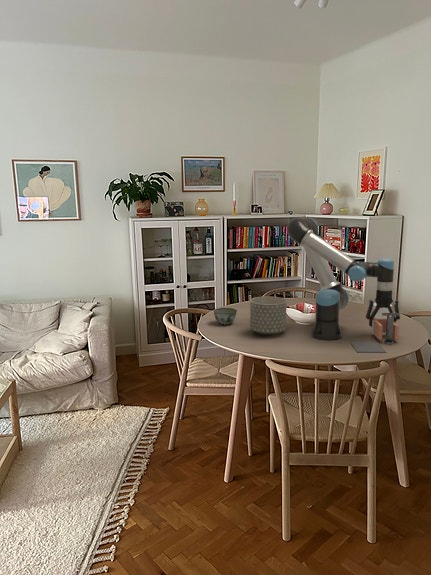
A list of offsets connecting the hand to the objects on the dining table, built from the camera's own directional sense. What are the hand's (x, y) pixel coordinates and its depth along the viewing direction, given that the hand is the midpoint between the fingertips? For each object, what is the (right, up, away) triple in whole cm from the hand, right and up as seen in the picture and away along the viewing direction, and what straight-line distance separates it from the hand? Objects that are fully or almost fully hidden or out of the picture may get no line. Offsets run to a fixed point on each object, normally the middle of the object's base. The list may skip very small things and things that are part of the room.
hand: (381, 332), depth 216 cm
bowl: (-80, +2, +28) cm, 85 cm away
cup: (+9, +3, +23) cm, 25 cm away
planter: (-57, -2, +9) cm, 58 cm away
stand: (-1, -4, -11) cm, 11 cm away
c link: (0, -1, -4) cm, 5 cm away
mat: (-13, -6, -17) cm, 22 cm away
